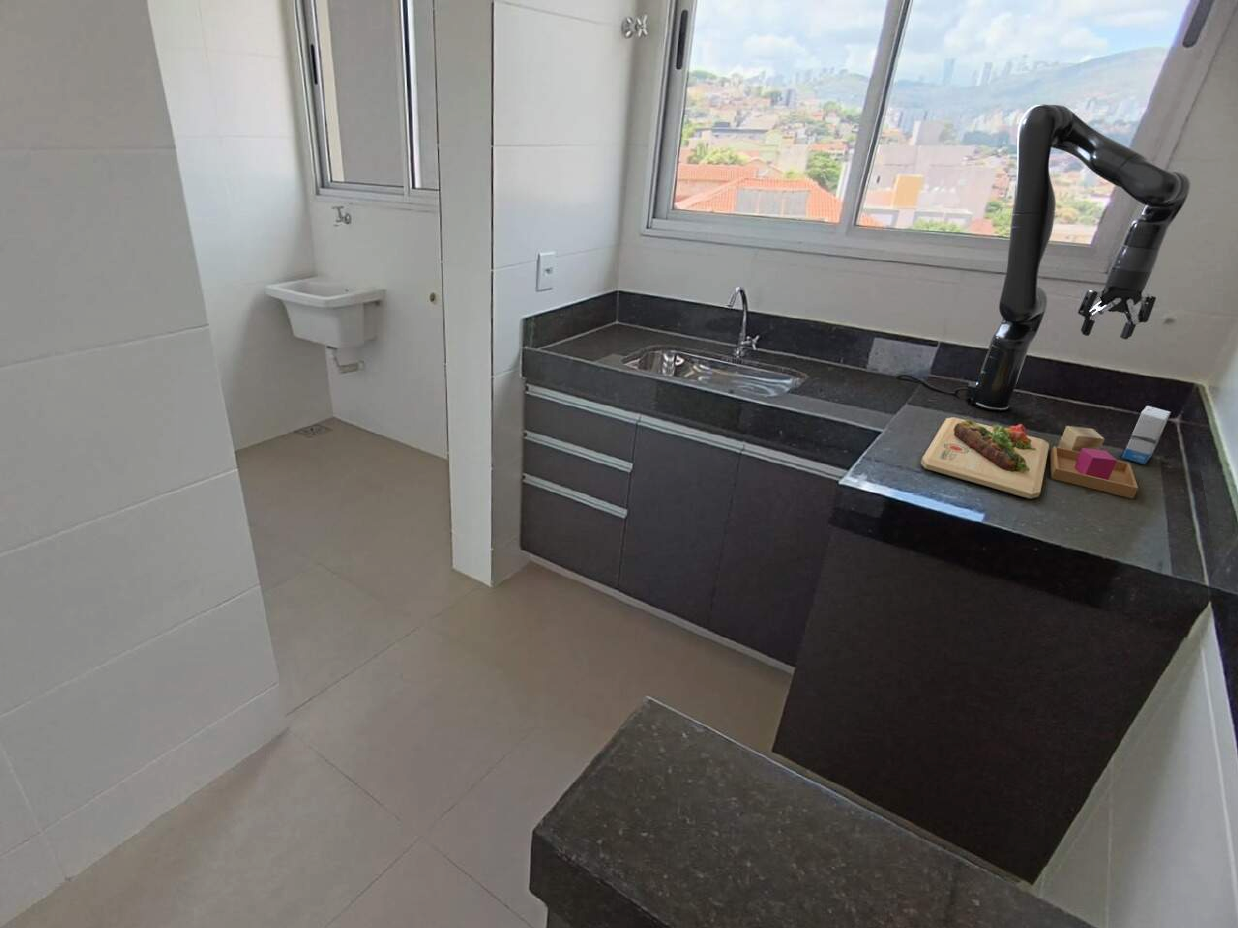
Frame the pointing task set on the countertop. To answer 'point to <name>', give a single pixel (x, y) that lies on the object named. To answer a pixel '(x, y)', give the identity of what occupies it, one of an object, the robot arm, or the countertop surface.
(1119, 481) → the tray
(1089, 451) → the pink block
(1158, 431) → the ink box
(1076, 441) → the base block
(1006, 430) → the cutting board
